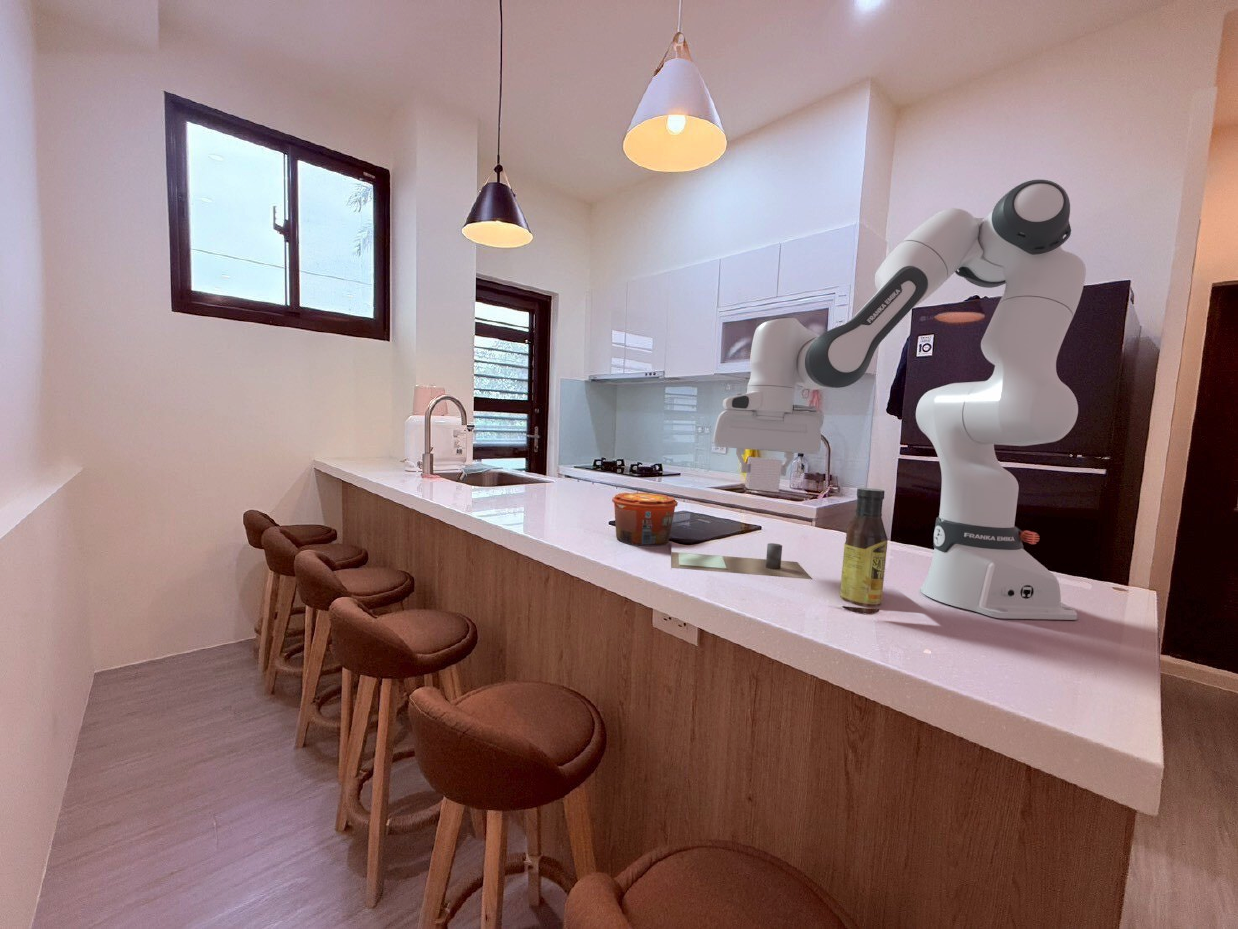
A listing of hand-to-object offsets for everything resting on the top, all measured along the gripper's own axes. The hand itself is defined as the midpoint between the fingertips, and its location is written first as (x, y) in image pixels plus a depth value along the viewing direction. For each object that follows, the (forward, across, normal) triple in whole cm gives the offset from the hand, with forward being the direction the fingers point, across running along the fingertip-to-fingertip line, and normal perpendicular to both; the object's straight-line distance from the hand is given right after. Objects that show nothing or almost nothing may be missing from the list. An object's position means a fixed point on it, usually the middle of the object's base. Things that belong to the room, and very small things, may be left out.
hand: (762, 474), depth 101 cm
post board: (+20, +3, 0) cm, 20 cm away
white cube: (+3, 0, 0) cm, 3 cm away
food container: (+20, +24, -22) cm, 38 cm away
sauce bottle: (+20, -15, +16) cm, 30 cm away
